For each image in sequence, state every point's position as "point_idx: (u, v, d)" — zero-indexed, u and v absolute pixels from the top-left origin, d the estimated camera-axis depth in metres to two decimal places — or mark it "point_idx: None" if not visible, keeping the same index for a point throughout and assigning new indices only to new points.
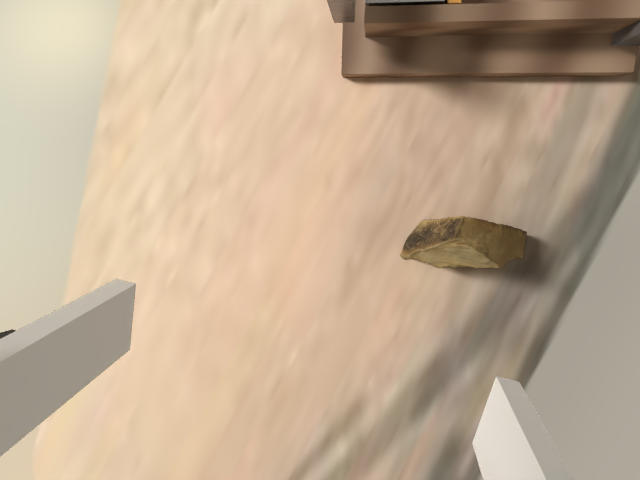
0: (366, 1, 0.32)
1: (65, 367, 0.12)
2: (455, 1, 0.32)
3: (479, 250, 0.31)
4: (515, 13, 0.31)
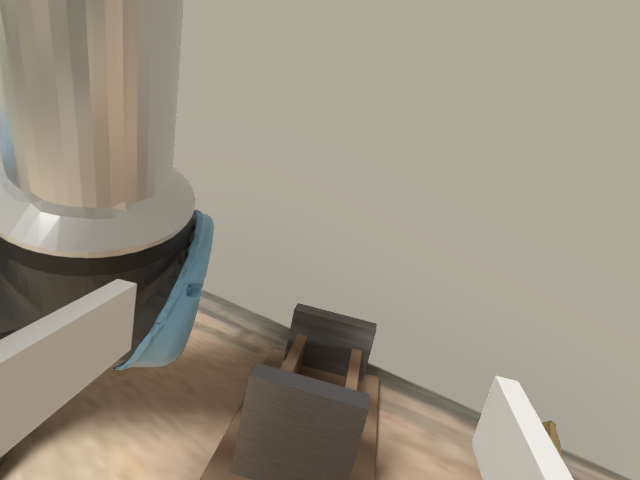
0: None
1: (67, 367, 0.12)
2: None
3: (549, 421, 0.37)
4: None
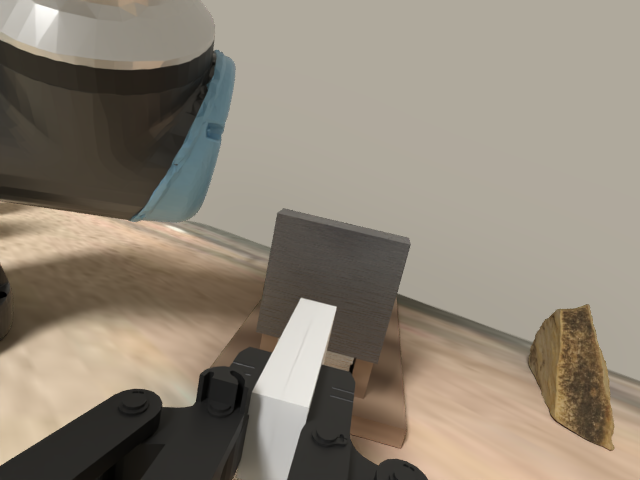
0: None
1: None
2: None
3: (586, 304, 0.35)
4: None
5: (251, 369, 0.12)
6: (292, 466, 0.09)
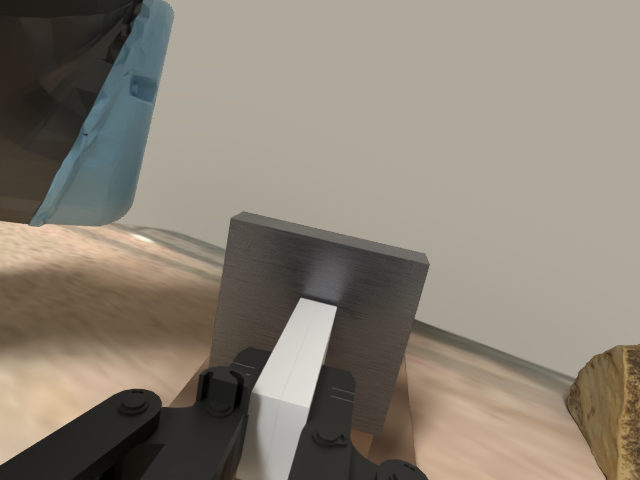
0: None
1: None
2: None
3: None
4: None
5: (251, 369, 0.12)
6: (292, 466, 0.09)
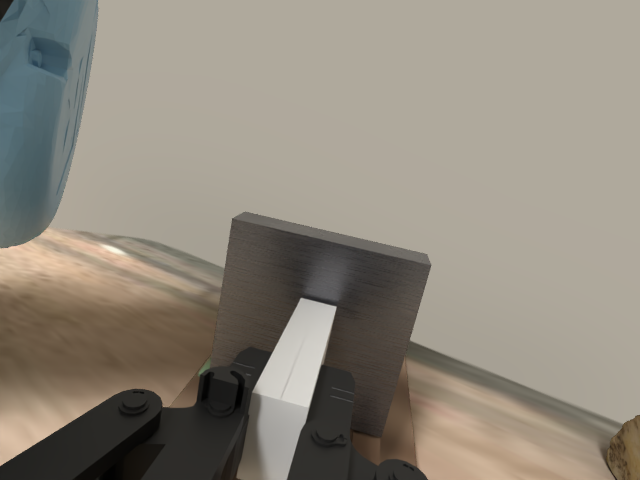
0: None
1: None
2: None
3: None
4: None
5: (251, 369, 0.12)
6: (292, 466, 0.09)
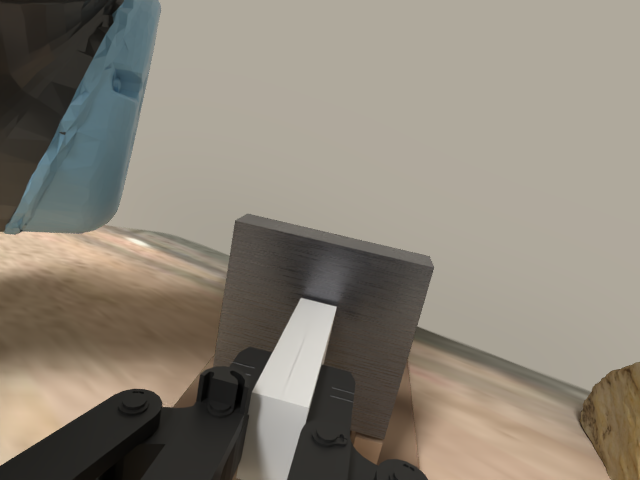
0: None
1: None
2: None
3: None
4: None
5: (251, 369, 0.12)
6: (292, 466, 0.09)
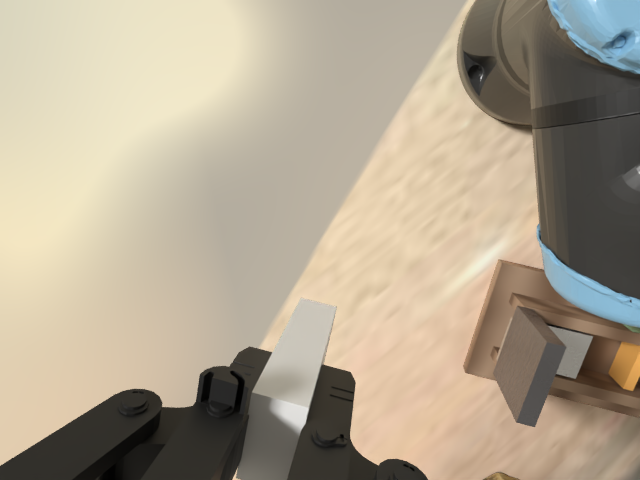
0: None
1: None
2: (628, 389, 0.43)
3: None
4: (608, 397, 0.43)
5: (251, 369, 0.12)
6: (292, 466, 0.09)
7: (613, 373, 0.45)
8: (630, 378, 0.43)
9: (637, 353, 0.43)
